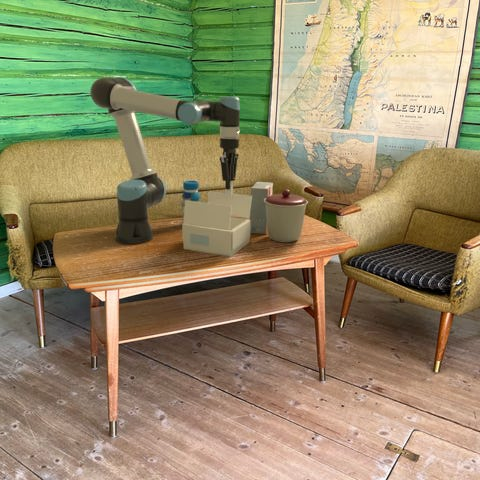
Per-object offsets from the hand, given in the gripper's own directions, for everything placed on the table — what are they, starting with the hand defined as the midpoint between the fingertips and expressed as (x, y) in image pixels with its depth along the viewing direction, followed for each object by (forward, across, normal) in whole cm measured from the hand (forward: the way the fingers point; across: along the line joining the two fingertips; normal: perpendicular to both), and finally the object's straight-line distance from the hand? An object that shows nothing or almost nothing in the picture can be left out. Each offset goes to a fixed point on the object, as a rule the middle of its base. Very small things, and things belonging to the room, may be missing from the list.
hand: (228, 196), depth 196 cm
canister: (+18, +10, -21) cm, 30 cm away
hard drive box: (+18, +19, -7) cm, 27 cm away
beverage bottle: (+18, +10, +23) cm, 31 cm away
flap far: (+3, 0, 0) cm, 3 cm away
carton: (+18, -11, 0) cm, 21 cm away
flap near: (+3, -19, 0) cm, 19 cm away
